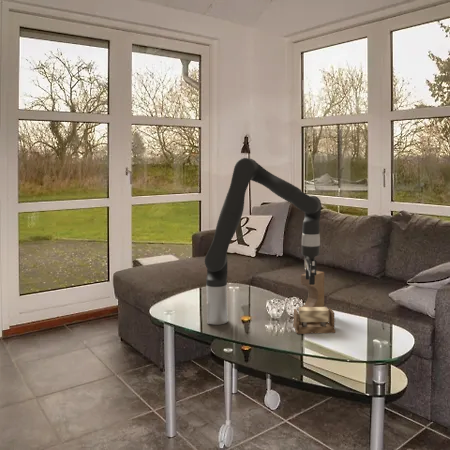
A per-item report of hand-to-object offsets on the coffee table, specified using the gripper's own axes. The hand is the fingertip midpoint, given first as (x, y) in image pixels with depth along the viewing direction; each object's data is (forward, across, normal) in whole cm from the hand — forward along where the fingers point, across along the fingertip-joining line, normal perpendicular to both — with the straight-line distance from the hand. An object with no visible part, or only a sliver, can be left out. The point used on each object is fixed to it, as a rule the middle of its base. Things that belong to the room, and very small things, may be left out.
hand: (309, 281), depth 216 cm
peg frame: (+21, -1, -2) cm, 21 cm away
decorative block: (+21, +17, -5) cm, 28 cm away
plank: (+17, -1, -2) cm, 17 cm away
